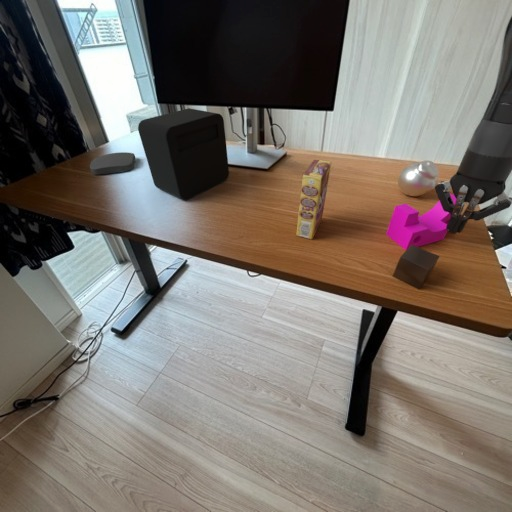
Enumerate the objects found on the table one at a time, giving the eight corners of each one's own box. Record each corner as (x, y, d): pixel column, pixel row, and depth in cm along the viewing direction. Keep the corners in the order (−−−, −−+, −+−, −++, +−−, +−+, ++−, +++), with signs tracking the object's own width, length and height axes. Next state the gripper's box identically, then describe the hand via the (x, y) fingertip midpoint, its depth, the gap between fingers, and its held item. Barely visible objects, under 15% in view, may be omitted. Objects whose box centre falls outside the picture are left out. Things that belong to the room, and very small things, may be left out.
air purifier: (201, 168, 96) (190, 106, 83) (230, 178, 89) (223, 111, 76) (153, 189, 85) (131, 120, 72) (181, 203, 77) (164, 129, 64)
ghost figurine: (409, 205, 72) (423, 169, 66) (387, 190, 79) (397, 156, 73) (437, 199, 74) (454, 164, 67) (413, 185, 81) (426, 151, 74)
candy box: (313, 240, 62) (322, 177, 52) (295, 236, 63) (300, 174, 53) (323, 221, 68) (332, 161, 58) (306, 217, 69) (312, 158, 59)
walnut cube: (429, 275, 52) (439, 256, 49) (419, 289, 49) (429, 269, 46) (403, 263, 55) (411, 244, 51) (392, 276, 52) (400, 256, 49)
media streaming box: (133, 171, 96) (130, 163, 94) (90, 176, 94) (86, 168, 92) (137, 157, 107) (135, 149, 105) (98, 161, 105) (95, 154, 103)
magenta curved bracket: (405, 250, 58) (418, 220, 53) (386, 234, 62) (395, 205, 58) (459, 234, 61) (475, 205, 57) (436, 220, 66) (449, 193, 61)
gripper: (444, 146, 48) (413, 227, 59) (541, 162, 41) (485, 252, 51) (457, 136, 52) (426, 214, 63) (548, 149, 44) (494, 236, 55)
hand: (452, 231), depth 57 cm, fingers closed
